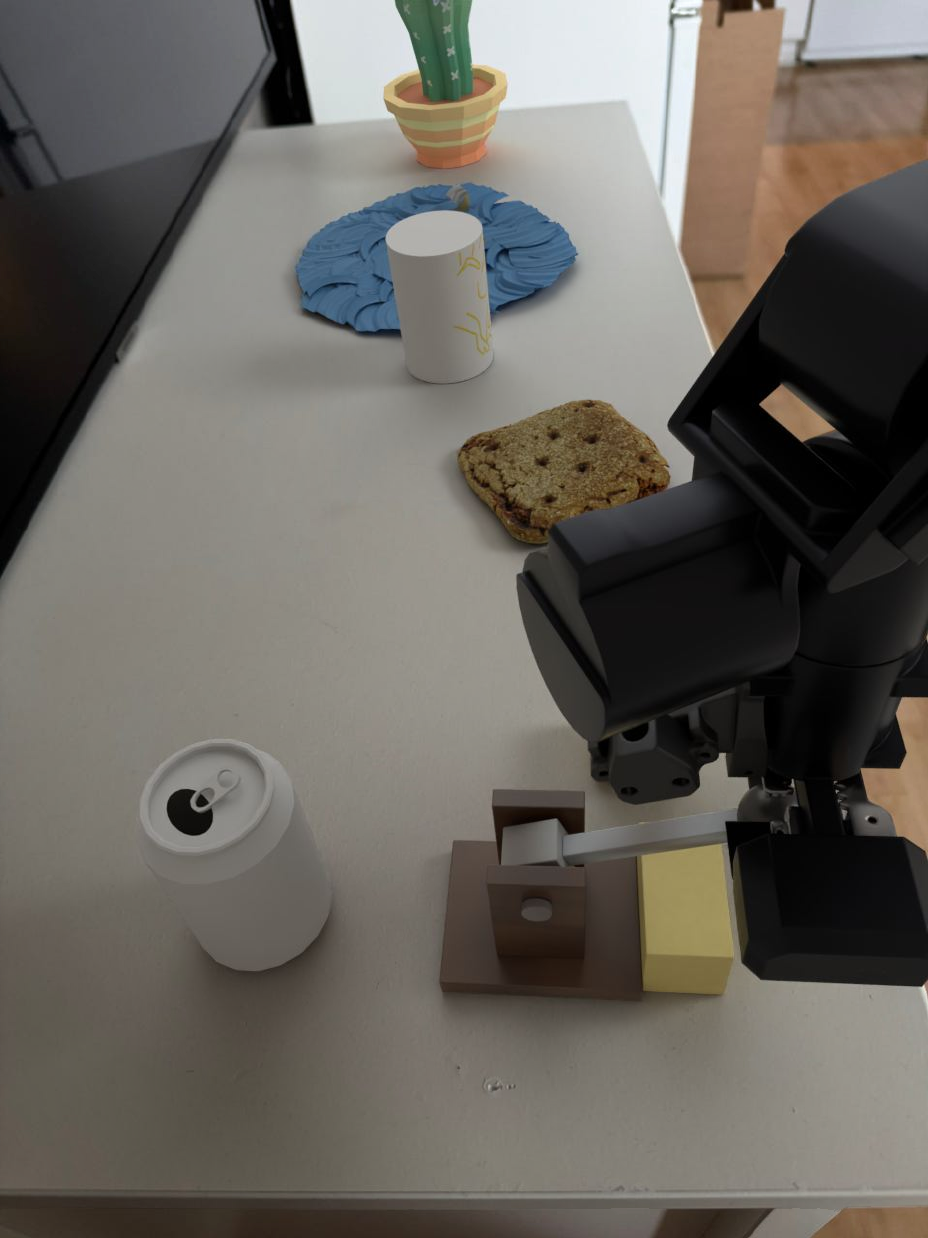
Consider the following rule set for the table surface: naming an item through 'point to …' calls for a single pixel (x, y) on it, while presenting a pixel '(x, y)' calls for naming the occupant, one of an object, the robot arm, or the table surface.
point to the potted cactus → (444, 86)
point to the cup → (441, 295)
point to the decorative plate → (359, 264)
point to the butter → (684, 921)
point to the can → (234, 853)
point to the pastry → (561, 466)
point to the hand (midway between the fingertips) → (768, 841)
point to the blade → (633, 834)
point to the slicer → (540, 914)
